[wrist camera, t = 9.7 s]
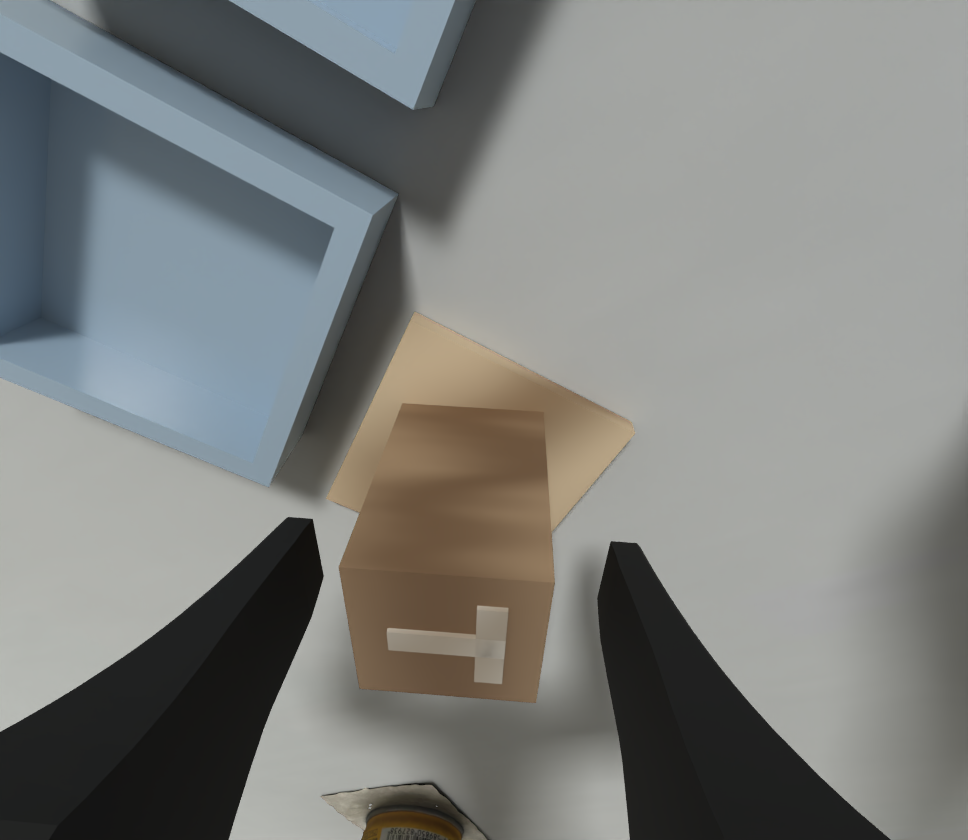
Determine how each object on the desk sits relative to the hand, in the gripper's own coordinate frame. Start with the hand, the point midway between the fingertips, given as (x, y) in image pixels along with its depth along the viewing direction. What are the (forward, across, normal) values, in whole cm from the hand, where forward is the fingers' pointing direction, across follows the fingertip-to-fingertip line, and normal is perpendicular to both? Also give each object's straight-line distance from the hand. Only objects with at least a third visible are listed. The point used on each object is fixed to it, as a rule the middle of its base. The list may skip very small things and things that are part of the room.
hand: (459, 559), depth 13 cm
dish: (+4, +7, -6) cm, 10 cm away
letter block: (+4, 0, 0) cm, 4 cm away
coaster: (+4, 0, 0) cm, 4 cm away
